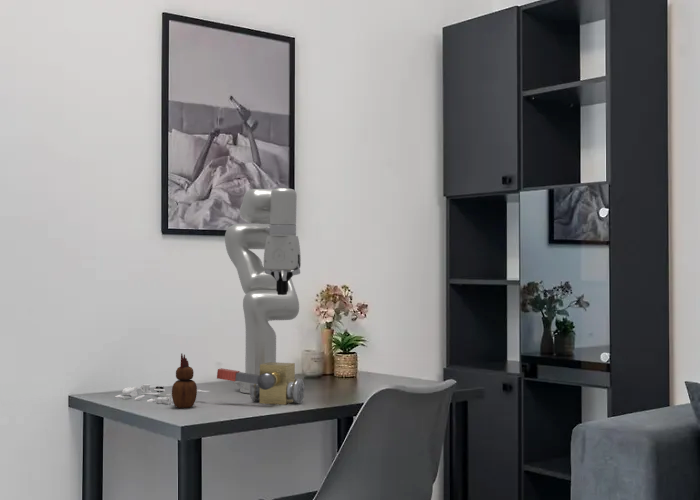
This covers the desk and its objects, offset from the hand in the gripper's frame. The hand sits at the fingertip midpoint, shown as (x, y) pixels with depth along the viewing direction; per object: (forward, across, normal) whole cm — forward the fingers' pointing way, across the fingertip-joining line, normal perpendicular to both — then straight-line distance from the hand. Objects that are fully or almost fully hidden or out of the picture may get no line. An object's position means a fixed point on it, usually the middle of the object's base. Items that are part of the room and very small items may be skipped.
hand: (282, 294), depth 258 cm
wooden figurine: (+31, -20, -20) cm, 42 cm away
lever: (+24, +2, -10) cm, 26 cm away
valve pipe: (+31, 0, -3) cm, 31 cm away
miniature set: (+32, -35, -10) cm, 48 cm away
